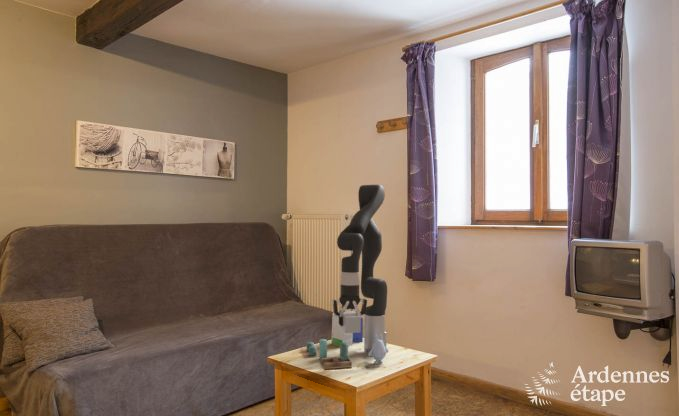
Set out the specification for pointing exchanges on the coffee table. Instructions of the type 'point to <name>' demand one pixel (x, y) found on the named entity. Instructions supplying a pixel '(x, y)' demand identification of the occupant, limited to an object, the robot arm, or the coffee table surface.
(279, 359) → the coffee table surface
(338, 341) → the skincare box
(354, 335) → the walkman
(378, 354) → the toy figure
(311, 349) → the board
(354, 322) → the white rectangular block
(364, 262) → the robot arm
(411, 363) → the coffee table surface
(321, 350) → the pin
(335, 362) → the board
